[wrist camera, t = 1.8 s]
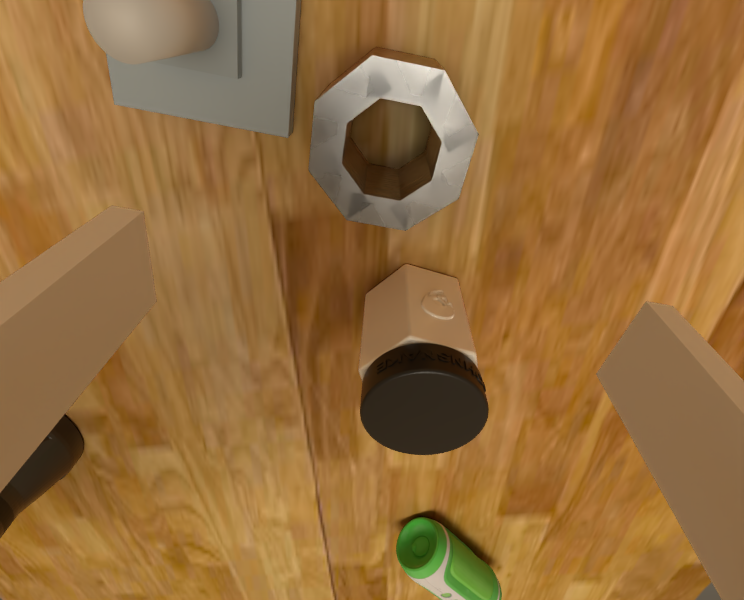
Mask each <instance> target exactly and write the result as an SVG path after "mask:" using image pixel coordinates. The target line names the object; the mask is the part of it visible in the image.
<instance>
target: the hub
mask: <svg viewBox="0 0 744 600" xmlns="http://www.w3.org/2000/svg"><path fill="white" fill-rule="evenodd" d="M380 98H383V99H387V100H392V101H397V102H402V103H407V104H412V105H417V106H421V107H422V108H423V110H424V112H425V114H426V115H427V117H428V119H429V120H430V122H431V124H432V125H431V129H430V133H429V137H428V141H427V145H426V149H425V152H424V153H422V154H421V155H419V156H418V157H416V158H415V159H413V160H412V161H410V162H409V163H407V164H406V165H404V166H403V167H401V168H400V169H395V168H390V167H385V166H379V165H374V164H369V163H368V162H367V160H366V159H365V158H364V156H363V155H362V153H361V152H360V150H359V149H358V147H357V146H356V144H355V143H354V142H353V140H352V139H351V137H350V136H351V129H352V122H353V118H355V117H356V116H357V115H359V114H360V113H361V112H363V111H364V110H365V109H367V108H368V107H369V106H370V105H372V104H373V103H374V102H376V101H377V100H378V99H380ZM478 135H479V134H478V132H477V130H476V128H475V126H474V125H473V123H472V121H471V119H470V117H469V115H468V113H467V111H466V109H465V108H464V106H463V104H462V102H461V100H460V98H459V96H458V94H457V92H456V91H455V89H454V87H453V85H452V83H451V81H450V79H449V77H448V75H447V74H446V72H445V70H444V69H443V68H442V67H441V66H440V64H439V63H438V62H437V61H436V60H435V59H432V58H427V57H423V56H418V55H413V54H408V53H404V52H399V51H394V50H389V49H385V48H380V47H375V48H374V49H373V50H371V51H370V52H369V53H368V54H366V55H365V56H364V57H363V58H362V59H360V60H359V61H358V62H357V63H355V64H354V65H353V66H352V67H350V68H349V69H348V70H347V71H346V72H344V73H343V74H342V75H341V76H339V77H338V78H337V79H336V80H334V81H333V82H332V83H331V84H329V85H328V87H327V88H326V89H325V90H324V91H323V92H322V94H321V95H320V96H319V97H318V98H317V99H316V101H315V103H314V114H313V125H312V137H311V148H310V159H309V172H310V173H311V174H312V176H313V177H314V178H315V180H316V181H317V182H318V183H319V185H320V186H321V187H322V189H323V190H324V191H325V192H326V194H327V195H328V196H329V198H330V199H331V200H332V202H333V203H334V204H335V205H336V207H337V208H338V209H339V211H340V212H341V213H342V214H343V216H344V217H345V218H346V220H349V221H355V222H360V223H366V224H371V225H377V226H382V227H388V228H393V229H399V230H405V231H406V230H408V229H409V228H411V227H413V226H414V225H416V224H418V223H419V222H421V221H423V220H424V219H426V218H427V217H429V216H431V215H432V214H434V213H436V212H437V211H439V210H441V209H442V208H444V207H446V206H447V205H449V204H451V203H452V202H454V201H456V200H457V199H459V196H460V193H461V189H462V186H463V183H464V180H465V177H466V173H467V170H468V167H469V164H470V160H471V157H472V154H473V151H474V147H475V144H476V141H477V138H478Z"/></svg>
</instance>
